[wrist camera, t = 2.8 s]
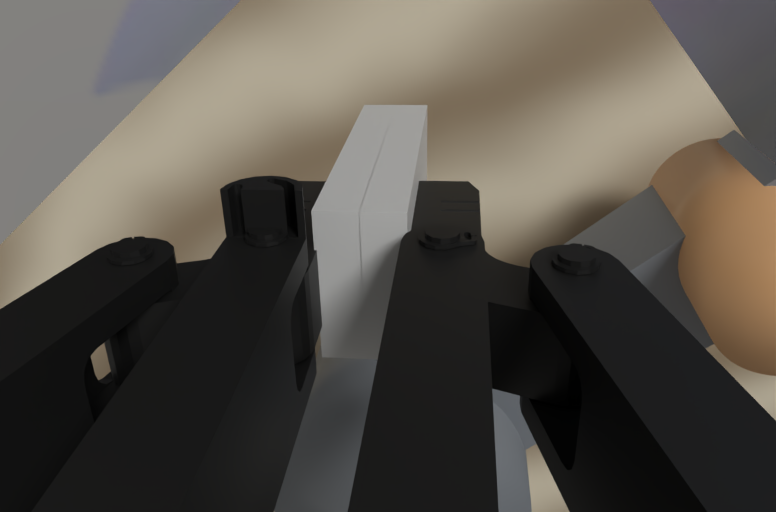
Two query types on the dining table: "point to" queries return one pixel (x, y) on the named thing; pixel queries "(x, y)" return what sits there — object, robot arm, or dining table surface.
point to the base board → (394, 87)
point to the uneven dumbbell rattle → (646, 262)
